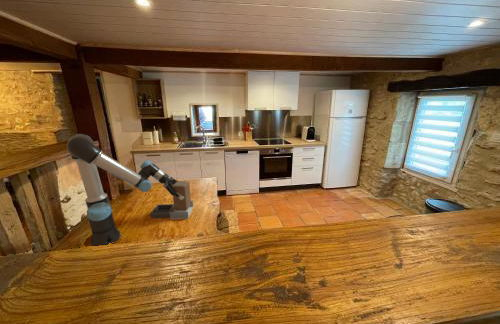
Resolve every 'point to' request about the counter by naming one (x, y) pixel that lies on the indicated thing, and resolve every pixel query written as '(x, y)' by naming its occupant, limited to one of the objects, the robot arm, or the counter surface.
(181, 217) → the walled bay
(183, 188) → the wooden block
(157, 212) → the box
